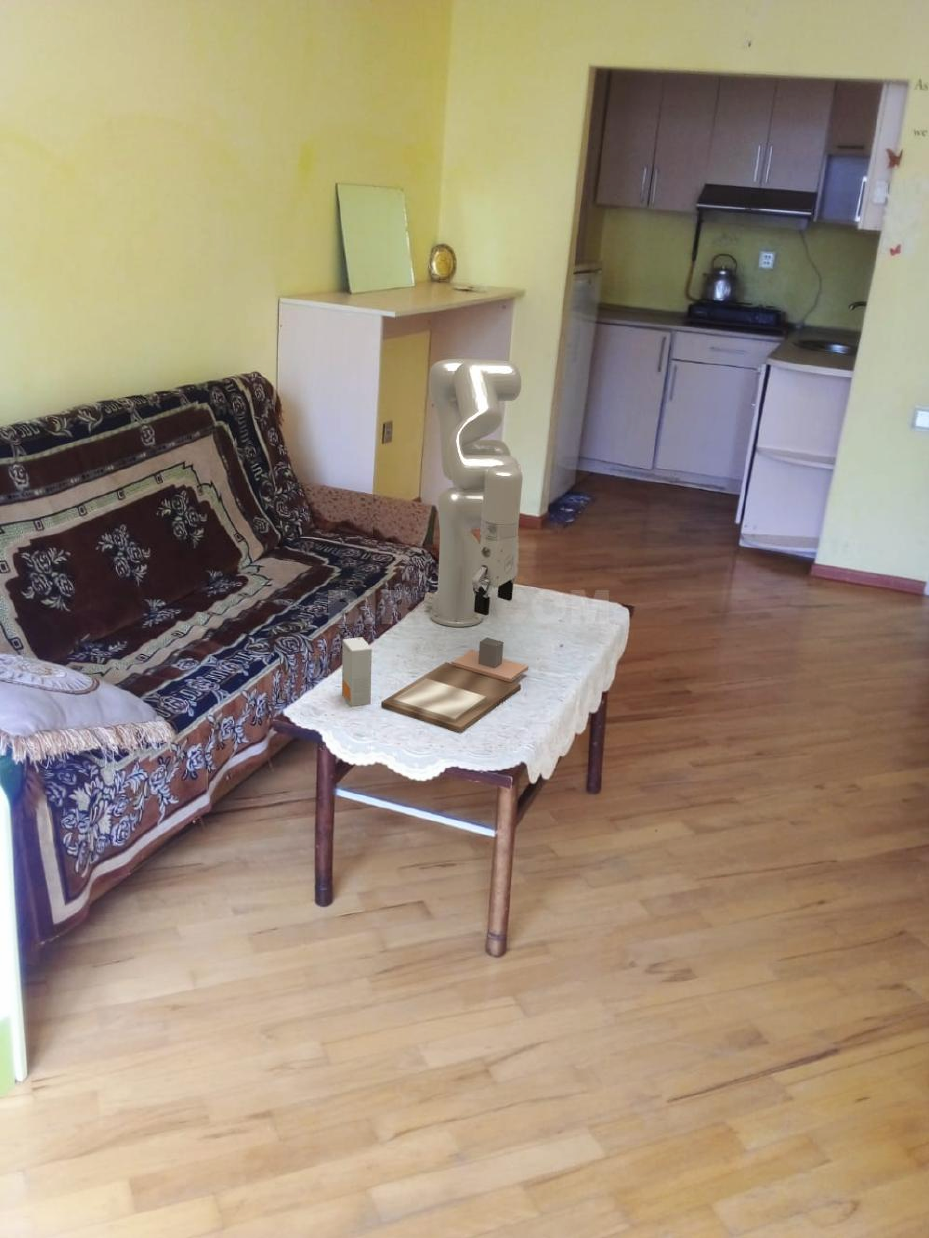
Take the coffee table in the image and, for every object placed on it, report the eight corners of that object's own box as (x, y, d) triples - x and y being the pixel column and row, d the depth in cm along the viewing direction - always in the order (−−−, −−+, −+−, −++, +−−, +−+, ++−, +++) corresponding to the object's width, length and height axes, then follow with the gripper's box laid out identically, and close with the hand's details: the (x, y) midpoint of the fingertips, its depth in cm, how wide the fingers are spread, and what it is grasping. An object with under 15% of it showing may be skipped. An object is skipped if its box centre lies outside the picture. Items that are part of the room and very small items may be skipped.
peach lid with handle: (451, 665, 232) (453, 639, 230) (470, 653, 238) (472, 628, 236) (510, 682, 225) (512, 656, 223) (528, 669, 232) (530, 644, 230)
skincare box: (341, 694, 219) (341, 638, 215) (361, 691, 221) (362, 636, 216) (350, 707, 214) (351, 650, 210) (371, 704, 216) (372, 648, 211)
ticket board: (381, 707, 215) (381, 698, 214) (445, 667, 234) (446, 658, 233) (460, 733, 206) (461, 723, 206) (520, 689, 226) (521, 680, 225)
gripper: (494, 543, 212) (488, 624, 219) (535, 521, 226) (528, 598, 233) (461, 534, 216) (455, 614, 222) (503, 513, 229) (497, 589, 236)
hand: (493, 606), depth 228 cm, fingers open, 9 cm apart
